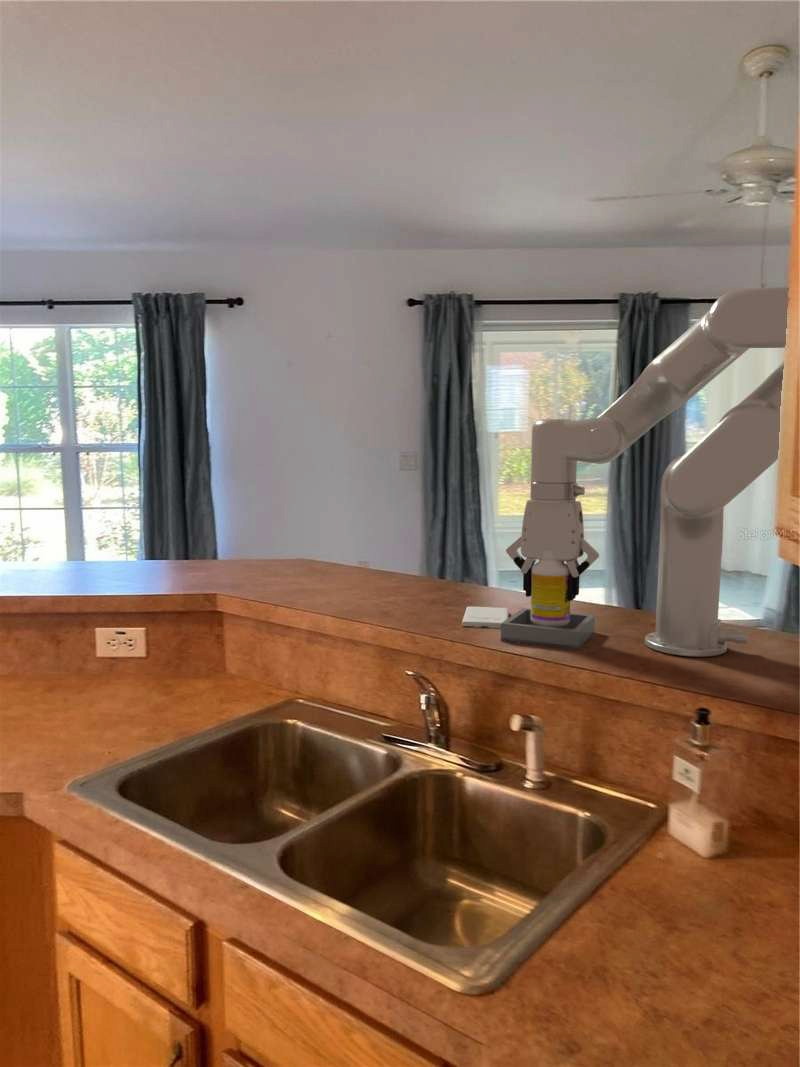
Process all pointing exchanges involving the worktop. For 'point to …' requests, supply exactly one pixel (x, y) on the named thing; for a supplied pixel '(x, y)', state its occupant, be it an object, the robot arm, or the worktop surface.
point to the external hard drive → (485, 617)
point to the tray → (548, 631)
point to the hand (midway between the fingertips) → (550, 596)
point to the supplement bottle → (550, 592)
